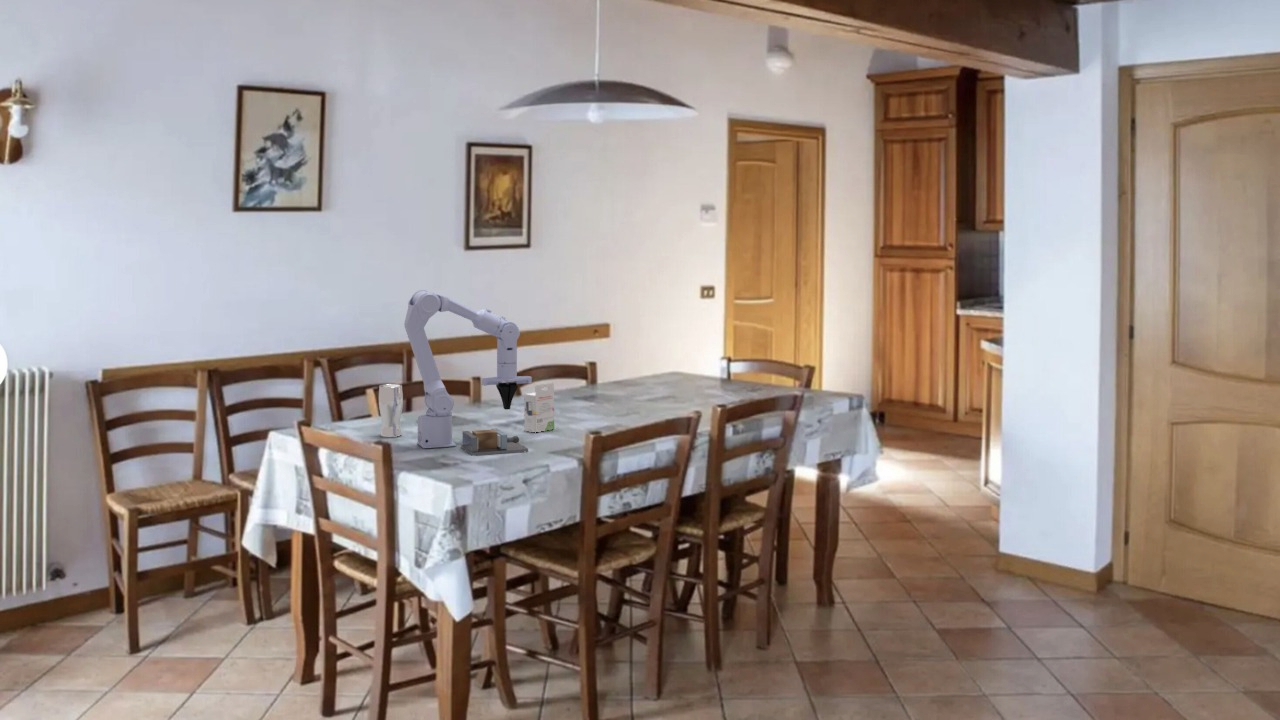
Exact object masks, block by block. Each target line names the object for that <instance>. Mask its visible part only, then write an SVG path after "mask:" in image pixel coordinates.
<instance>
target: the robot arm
mask: <svg viewBox="0 0 1280 720" xmlns="http://www.w3.org/2000/svg"><path fill="white" fill-rule="evenodd" d="M407 304H408V305H407V309H406V310H407V311H406V315H405V318H404V319H405V320H404V323H403V324H404V329H405V332H406V335H407V338H408V341H409V343H410V346H411V350H412V353H413V356H414V359H415V361H416V364H417V367H418V370H419V374H420V376H421V380H422V383H423V390H424V395H425V396H424V404H425V406H426V407H427V409H426V411H425V414H422V415H418V417H417V441H416V443H417V444H418V445H419V446H420V447H421V448H422V449H432V448H448V447H449V448H450V447H456V446H457V444H456V443H455V442H454V441H453V416H452V415H453V413H452V410H453V409H454V403H455V401H454V399H453V396H451V395H450V394H449V392H448V391H447V389H446V385H444V383H443V381H442V379H441V375H440V373H439V370H438V367H437V363H436V360H435V357H434V355H433V351H432V349H431V346H430V343H429V339H428V337H427V334H426V331H425V327H426V325H427V324H428V321H429V320H430V319H431V318H432V317H433V316H434V315H435V314H436V313H438V312H440V313H443V312H450V313H452V314H454V315H456V316H460V317H461V318H464V319H466V320H469V321H471V323H472V325H473V327H474V328H475V329H478V330H479V331H482V332H484V333H485V334H489V335H491V336H492V337H496V341H497V343H496V345H497V347H496V376H492V377H491V376H490V377H481V385H482V386H495V385H496V388H497V390H498V393H499V396H500V398H501V402H502V406H503V409H504V410H510V409H511V406H512V402H513V399H514V396H515V394H516V391H517V390H518V387H519V385H520V384H532V383H533V382H532V381H533V380H532V379H533V376H530V375H529V376H528V375H524V376H523V375H522V376H521V375H520V376H519V375H518V343H517V342H518V339H519V338H520V335H521V331H520V329H519V327H518V325H517V324H516V323H514V322H511V321H509V320H508V319H506V317H504V316H501V317H500V316H499V315H497V314H495V313H492V310H491V309H488V308H486V309H482V308H481V309H479V310H475V309H472V308H471V307H468V306H466V305H465V304H463V303H461V302H459V301H457V300H455V299H453V298H452V297H451V298H450V297H448V296H444V295H441V294H437V293H435V292H431V291H427V290H425V289H422V290H421V289H420V290H417V291H415V292H413V295H412V296H411V297H410V299H409V300H408V301H407ZM517 375H518V376H517ZM518 384H519V385H518Z"/></svg>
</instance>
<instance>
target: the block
mask: <svg viewBox="0 0 1280 720" xmlns="http://www.w3.org/2000/svg"><path fill="white" fill-rule="evenodd" d="M471 433H472V434H473V435H475V436H476V437H478V449H490V448H497V432H496V431H494V430H491V429H483V430H481V429H480V430H472V431H471Z"/></svg>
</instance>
